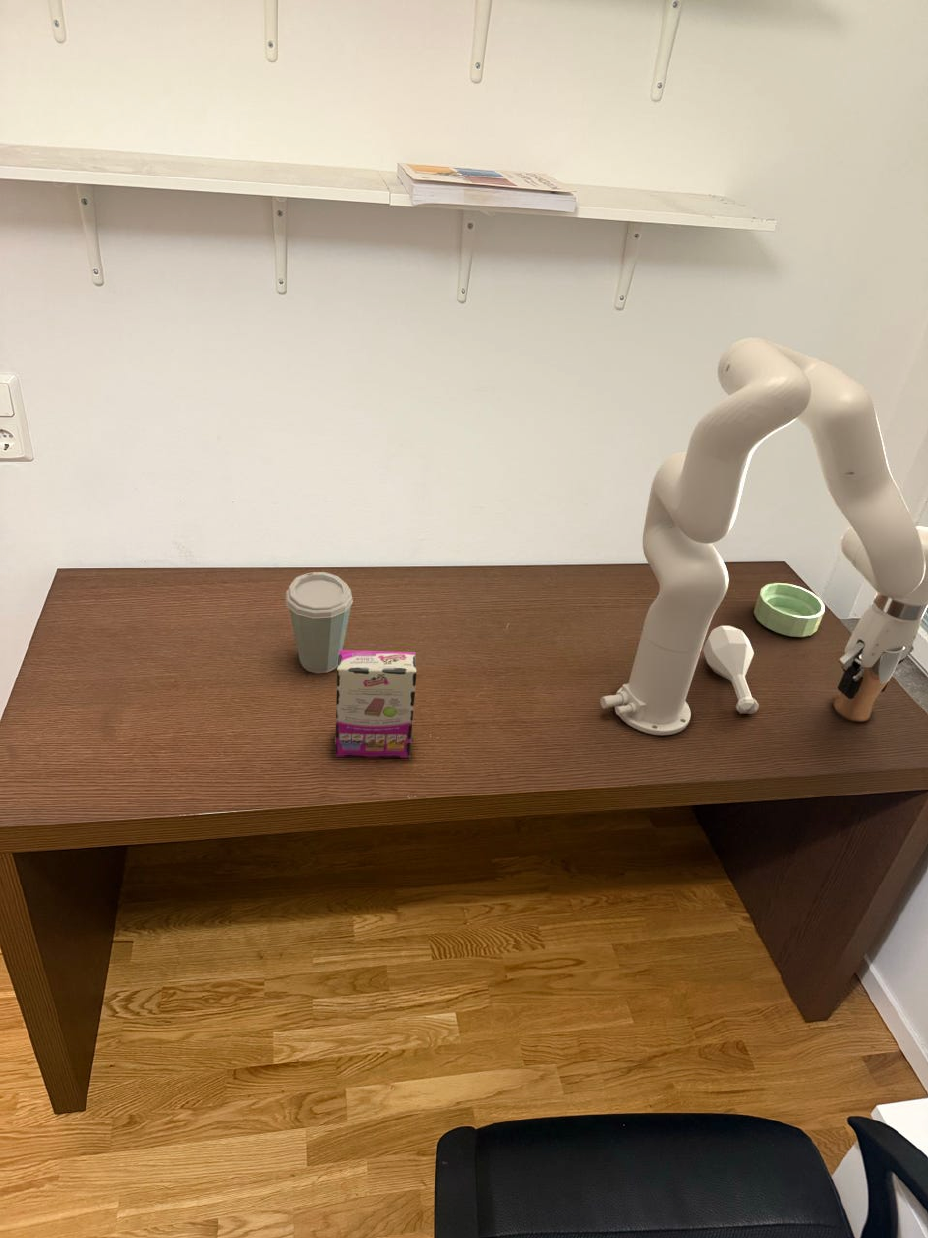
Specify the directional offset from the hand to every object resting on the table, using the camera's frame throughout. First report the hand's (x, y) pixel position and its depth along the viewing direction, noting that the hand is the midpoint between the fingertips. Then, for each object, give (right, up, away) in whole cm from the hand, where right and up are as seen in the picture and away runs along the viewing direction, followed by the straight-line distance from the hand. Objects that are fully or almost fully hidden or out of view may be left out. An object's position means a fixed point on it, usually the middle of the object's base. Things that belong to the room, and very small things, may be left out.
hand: (860, 689), depth 154 cm
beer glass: (0, -4, +3) cm, 5 cm away
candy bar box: (-81, -7, -18) cm, 83 cm away
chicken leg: (-21, 0, +5) cm, 21 cm away
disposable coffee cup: (-92, +4, -3) cm, 92 cm away
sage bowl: (-4, +12, +24) cm, 27 cm away
